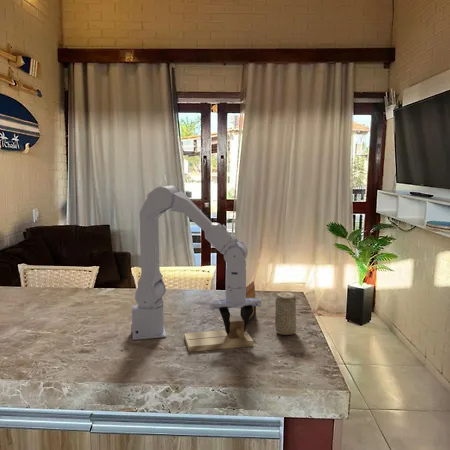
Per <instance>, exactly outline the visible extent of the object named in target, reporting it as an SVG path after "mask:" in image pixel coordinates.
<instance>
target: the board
mask: <svg viewBox="0 0 450 450" xmlns="http://www.w3.org/2000/svg"><path fill="white" fill-rule="evenodd" d="M183 334H184V336H183V339H184V342H185V345H186V348H187V351H188V352H189V353H191V352H193V353H194V352H203V351H214V350H224V349H232V348H233V349H234V348H244V347H253V346H254V340H253V339H252V337H251V335H250V334H249V333H248V331H247V330H245V332H244V338H243V339H240V338H233V339H230V338H229V336H228V334H227V333H226V331H225V329H220V330H209V331H197V332H196V331H195V332H187V333H183Z"/></svg>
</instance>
